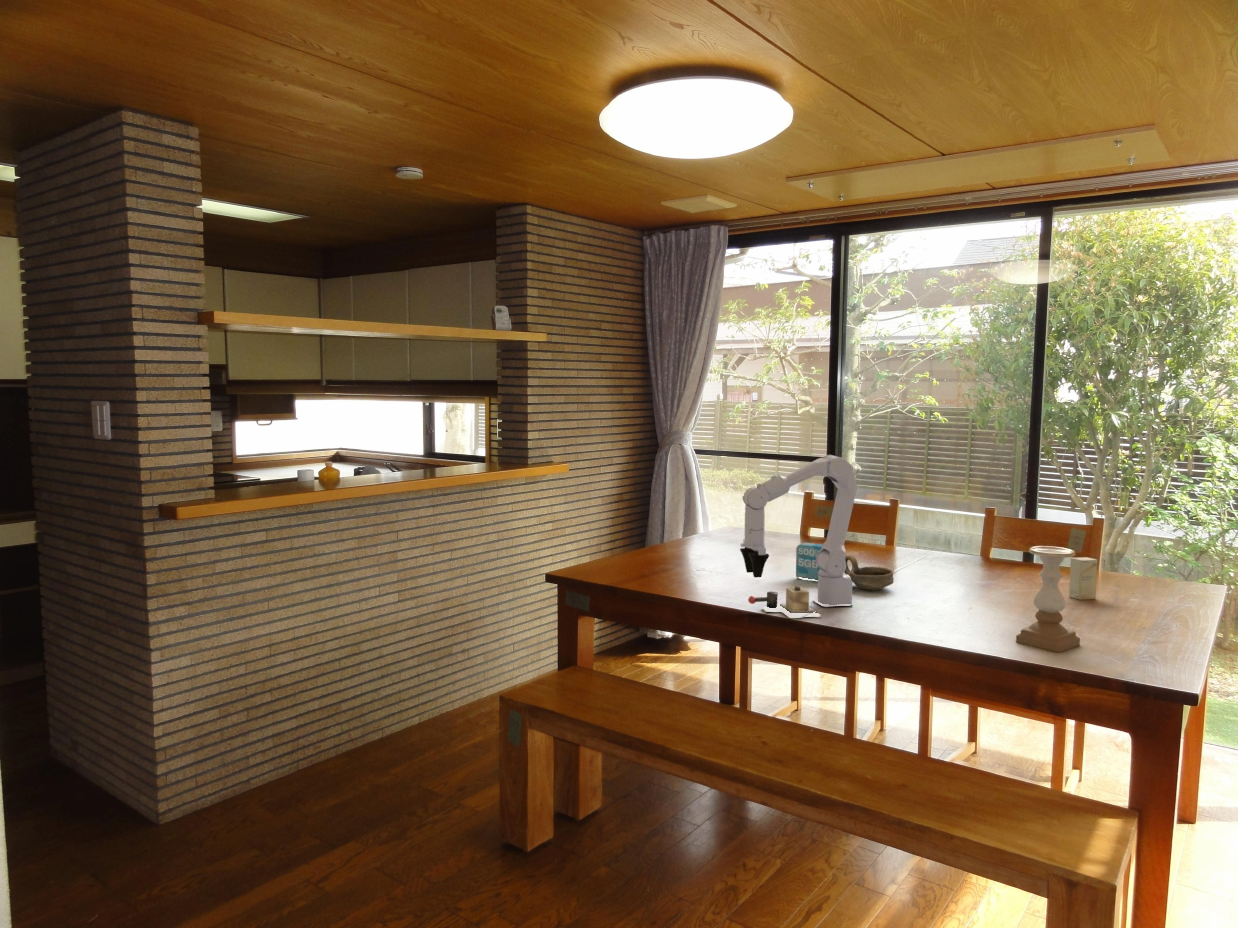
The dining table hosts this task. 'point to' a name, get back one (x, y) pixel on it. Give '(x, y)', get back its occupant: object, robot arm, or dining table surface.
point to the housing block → (797, 598)
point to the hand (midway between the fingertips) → (753, 574)
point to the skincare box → (1083, 578)
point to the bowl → (869, 575)
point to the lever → (766, 599)
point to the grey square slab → (798, 610)
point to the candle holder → (1049, 605)
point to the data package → (807, 560)
